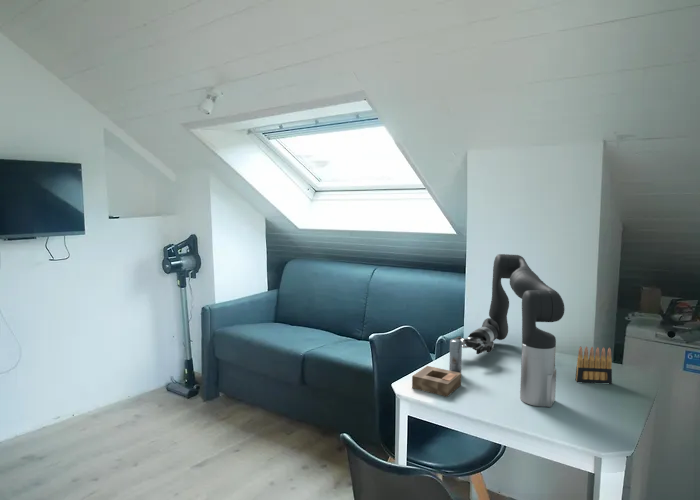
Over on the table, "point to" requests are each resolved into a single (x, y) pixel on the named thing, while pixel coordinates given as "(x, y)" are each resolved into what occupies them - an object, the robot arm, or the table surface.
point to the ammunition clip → (594, 367)
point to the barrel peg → (455, 355)
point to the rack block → (436, 380)
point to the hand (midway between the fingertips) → (465, 349)
